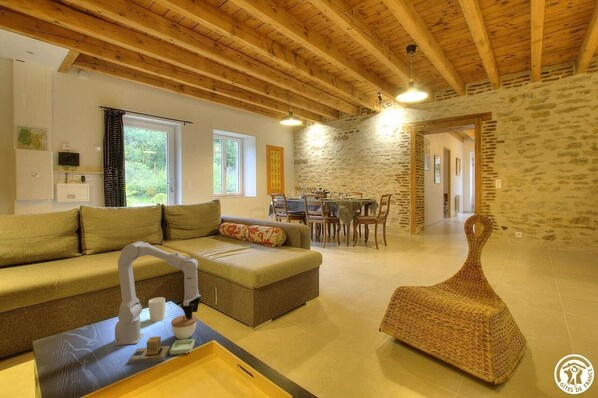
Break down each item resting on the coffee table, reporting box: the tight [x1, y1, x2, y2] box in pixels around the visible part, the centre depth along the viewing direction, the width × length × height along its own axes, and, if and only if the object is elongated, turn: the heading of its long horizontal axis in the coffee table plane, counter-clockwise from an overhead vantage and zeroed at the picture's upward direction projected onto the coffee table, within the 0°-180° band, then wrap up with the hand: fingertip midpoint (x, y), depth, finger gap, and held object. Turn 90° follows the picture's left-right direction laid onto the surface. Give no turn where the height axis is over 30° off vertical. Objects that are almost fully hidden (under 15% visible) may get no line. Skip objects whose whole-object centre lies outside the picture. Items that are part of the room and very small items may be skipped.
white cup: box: [148, 296, 166, 323], centre depth 152 cm, size 8×8×10 cm
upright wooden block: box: [146, 336, 162, 356], centre depth 118 cm, size 4×4×7 cm
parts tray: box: [169, 338, 195, 356], centre depth 123 cm, size 8×8×2 cm
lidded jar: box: [170, 314, 197, 340], centre depth 134 cm, size 11×11×9 cm
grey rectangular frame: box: [128, 345, 171, 364], centre depth 118 cm, size 13×8×2 cm, turn 97°
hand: (191, 315), depth 133 cm, fingers open, 7 cm apart
